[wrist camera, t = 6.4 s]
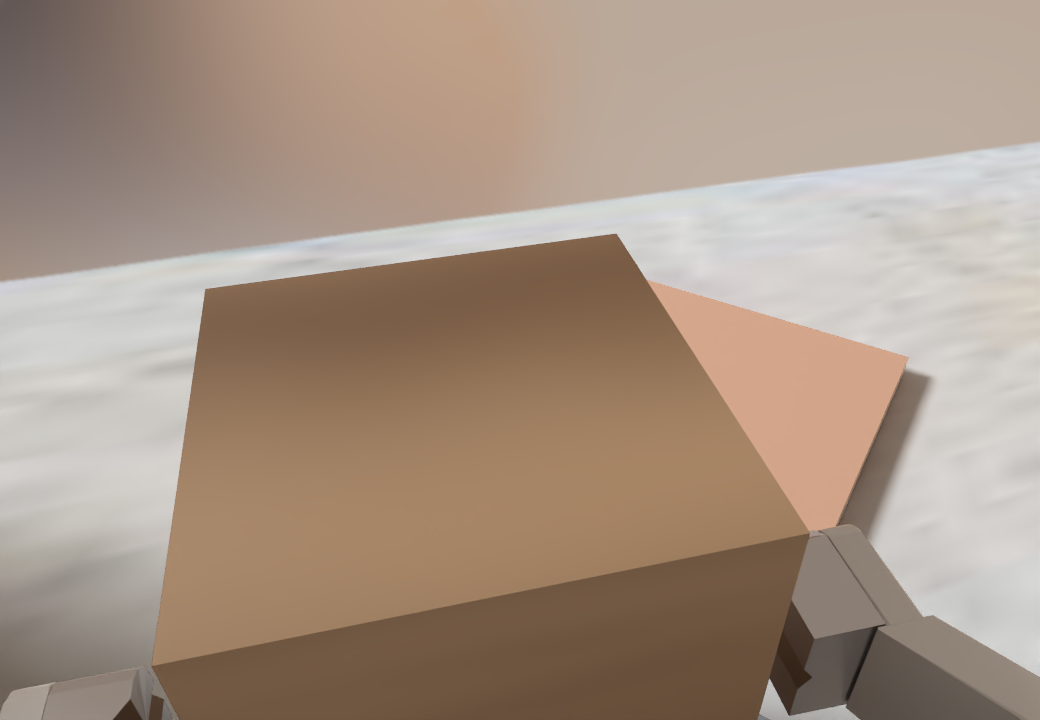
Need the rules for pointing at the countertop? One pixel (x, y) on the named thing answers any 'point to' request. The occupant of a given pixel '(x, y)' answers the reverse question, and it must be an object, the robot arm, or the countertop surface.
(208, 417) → the walnut block
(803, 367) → the pad
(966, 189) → the countertop surface
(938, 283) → the countertop surface
